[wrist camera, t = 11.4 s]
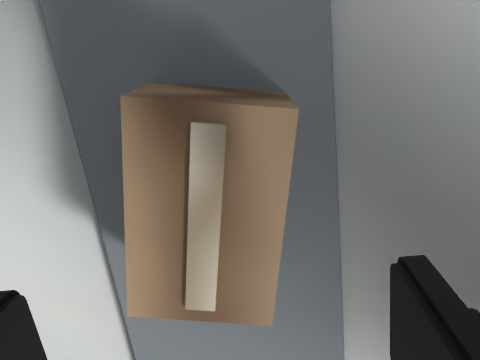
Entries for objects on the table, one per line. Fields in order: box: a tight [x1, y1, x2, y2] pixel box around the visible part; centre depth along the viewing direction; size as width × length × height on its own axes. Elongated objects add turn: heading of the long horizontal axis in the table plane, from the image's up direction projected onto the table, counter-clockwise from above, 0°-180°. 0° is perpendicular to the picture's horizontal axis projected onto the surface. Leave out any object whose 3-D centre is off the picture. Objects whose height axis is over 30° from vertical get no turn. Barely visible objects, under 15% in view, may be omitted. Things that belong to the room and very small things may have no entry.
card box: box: [120, 82, 299, 326], centre depth 17 cm, size 6×9×5 cm, turn 176°
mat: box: [38, 0, 344, 360], centre depth 19 cm, size 28×12×1 cm, turn 7°
